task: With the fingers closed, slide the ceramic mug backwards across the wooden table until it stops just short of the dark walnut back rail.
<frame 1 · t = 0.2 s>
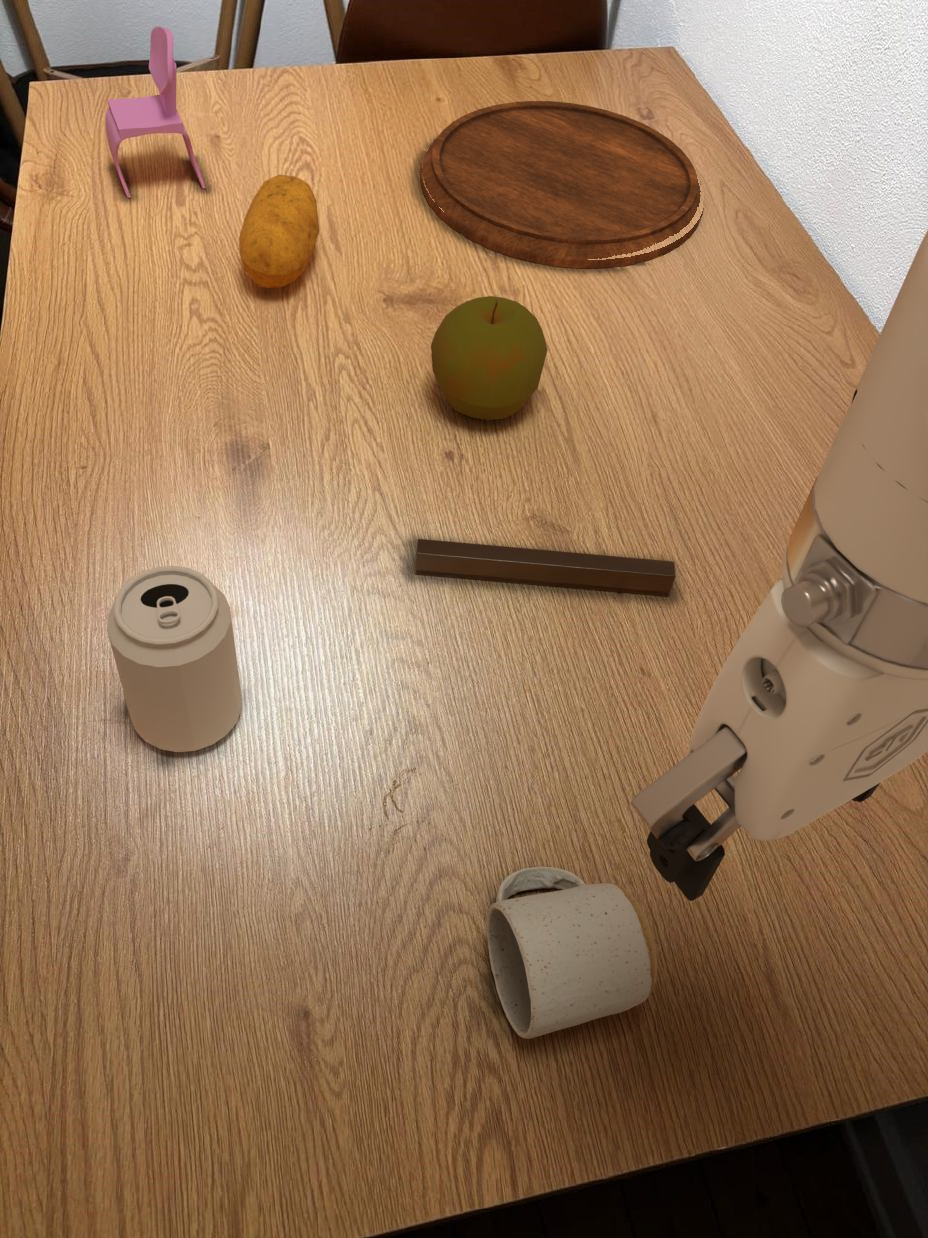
hand: (758, 821, 49), 22 cm above the table, tool pointing down, fingers open, 9 cm apart
toy chair: (159, 180, 119), on the table
potato: (282, 266, 111), on the table
ceramic mug: (548, 961, 67), on the table
apple: (483, 404, 100), on the table
cutting board: (561, 188, 125), on the table
can: (188, 714, 77), on the table
back rail: (542, 577, 87), on the table
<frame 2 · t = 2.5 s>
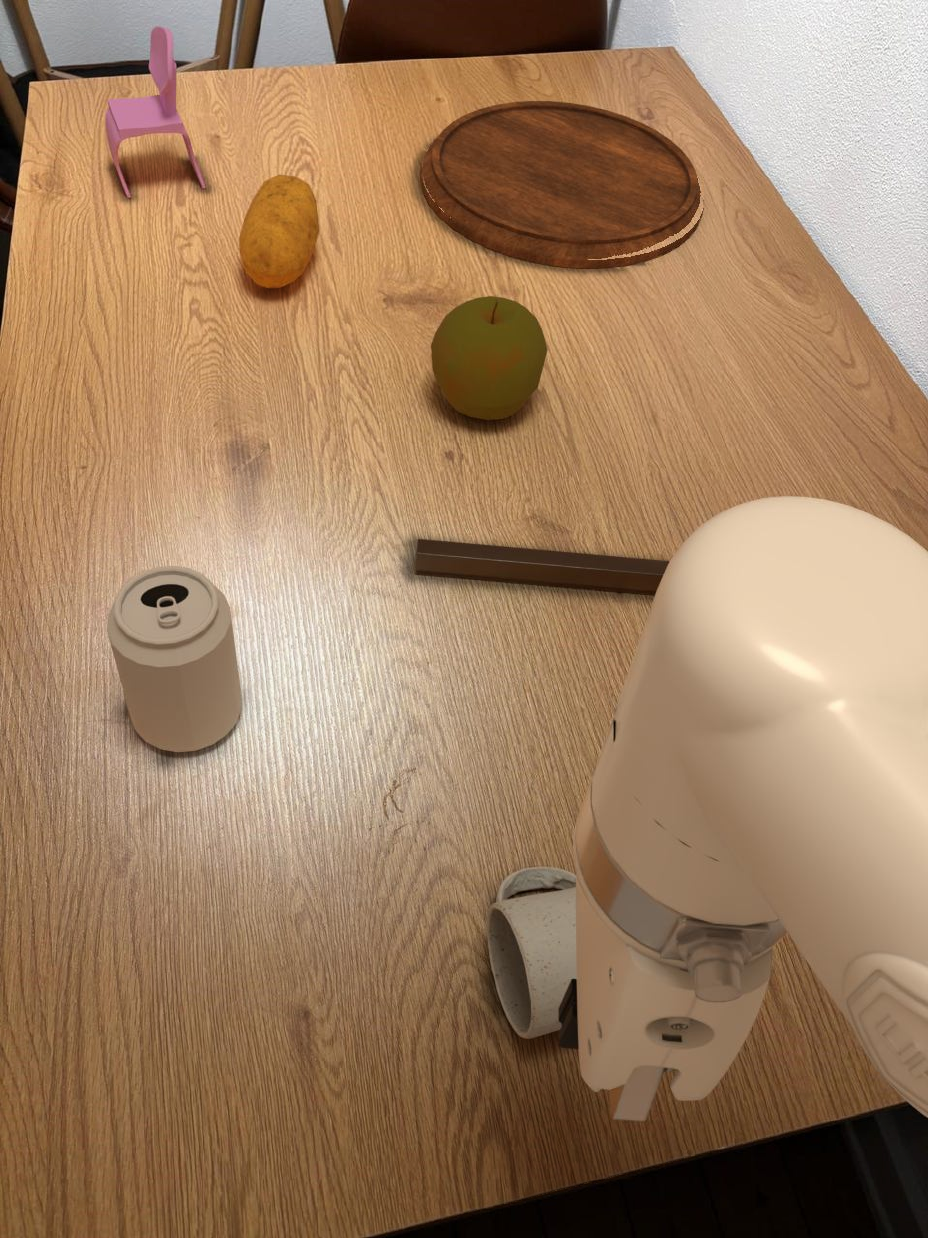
hand: (593, 1032, 49), 16 cm above the table, tool pointing down, fingers closed
nothing on the table moved.
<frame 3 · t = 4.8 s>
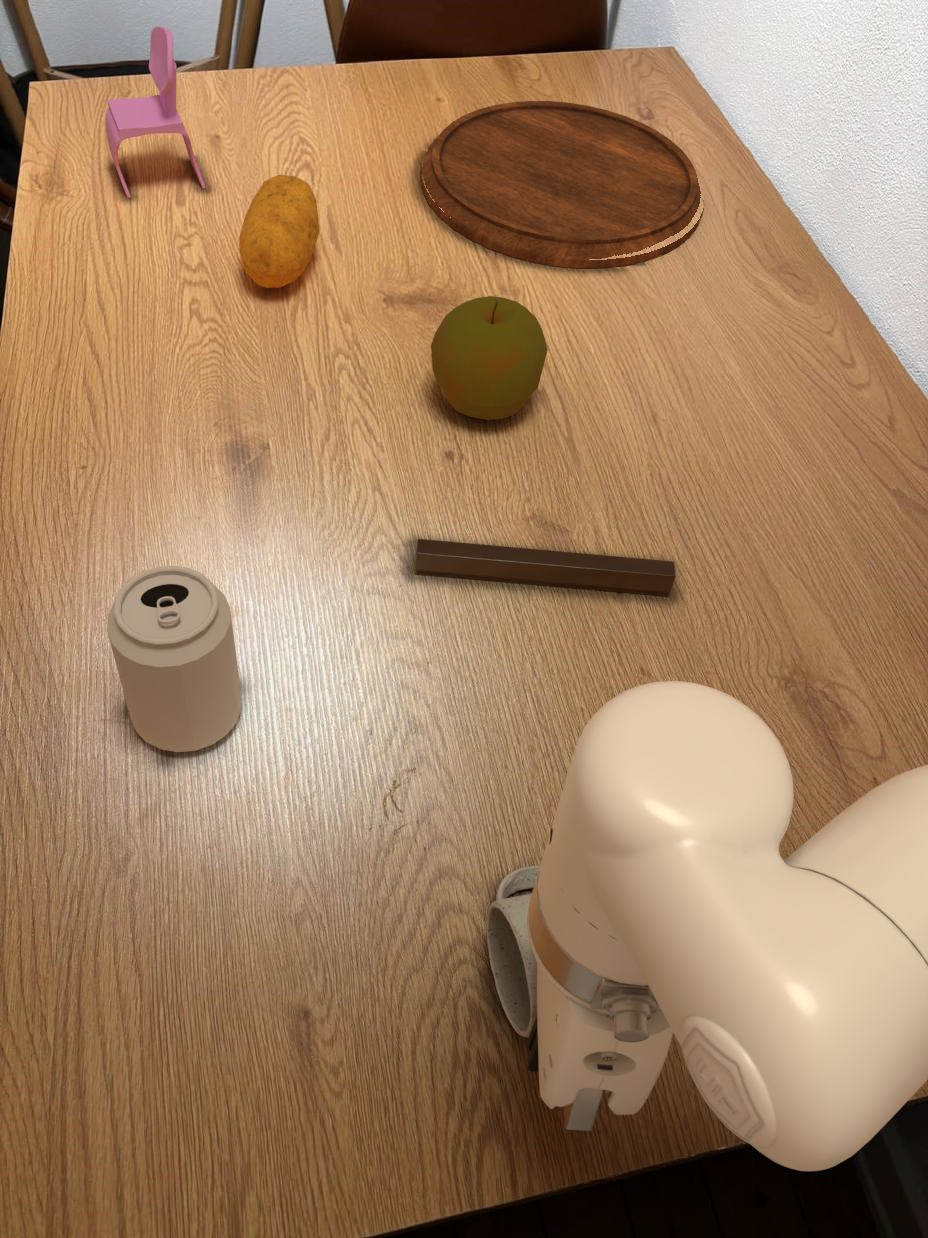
hand: (556, 1058, 60), 4 cm above the table, tool pointing down, fingers closed
ceramic mug: (548, 960, 68), on the table, touching gripper
everything else where it was.
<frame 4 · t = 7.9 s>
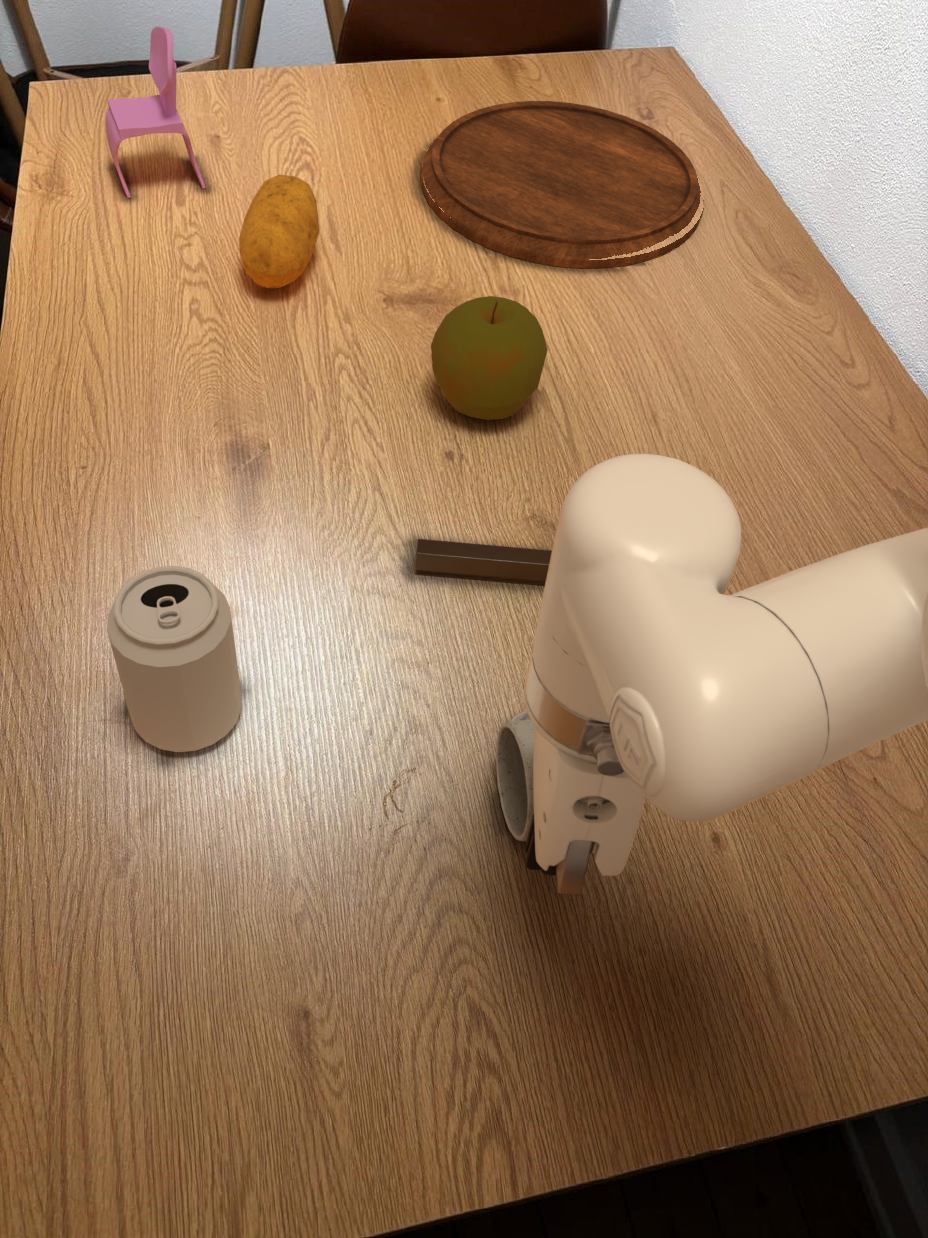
hand: (551, 859, 68), 4 cm above the table, tool pointing down, fingers closed
ceramic mug: (550, 788, 75), on the table, touching gripper
everything else where it was.
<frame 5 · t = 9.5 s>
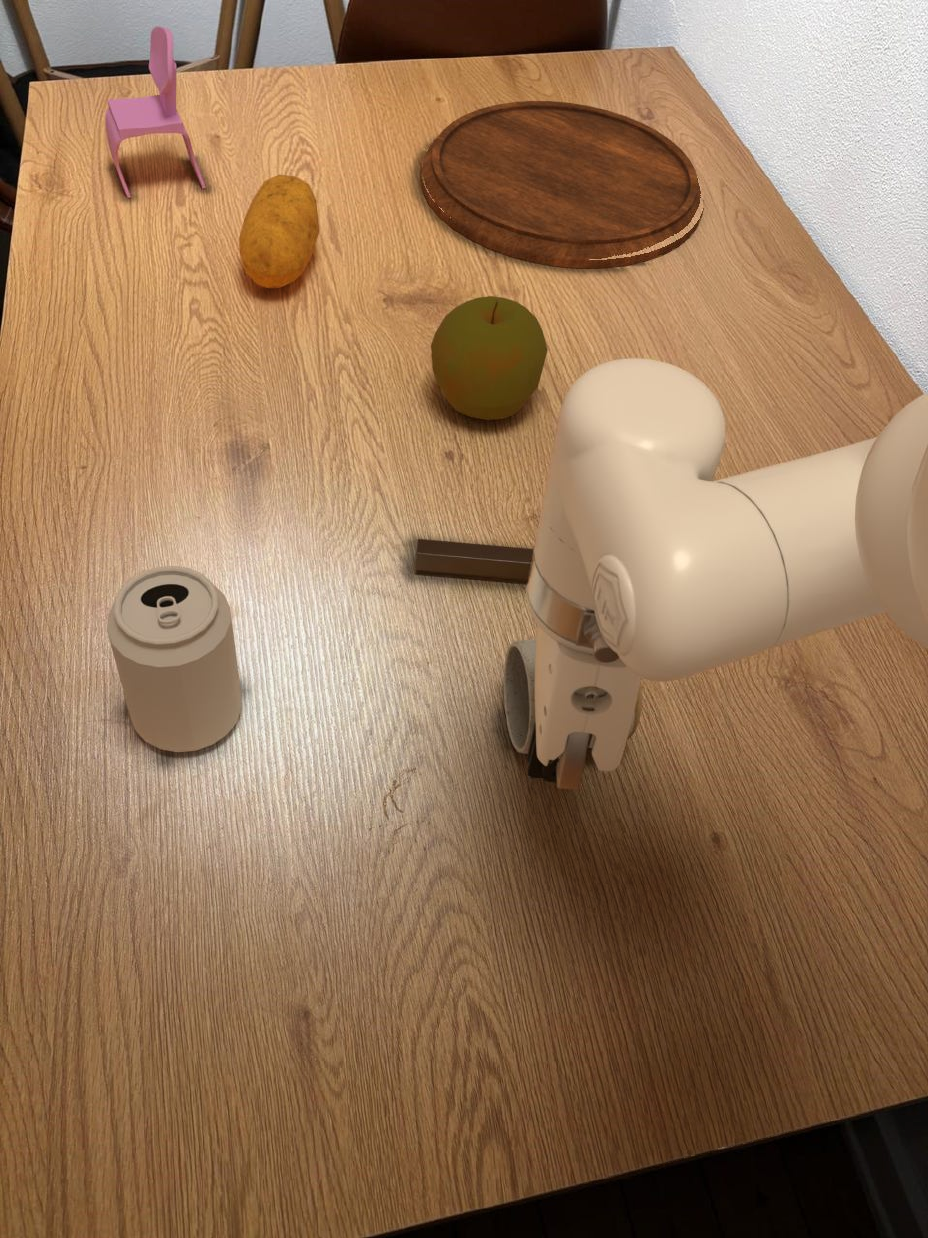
hand: (551, 768, 72), 4 cm above the table, tool pointing down, fingers closed
ceramic mug: (554, 711, 79), on the table, touching gripper
everything else where it was.
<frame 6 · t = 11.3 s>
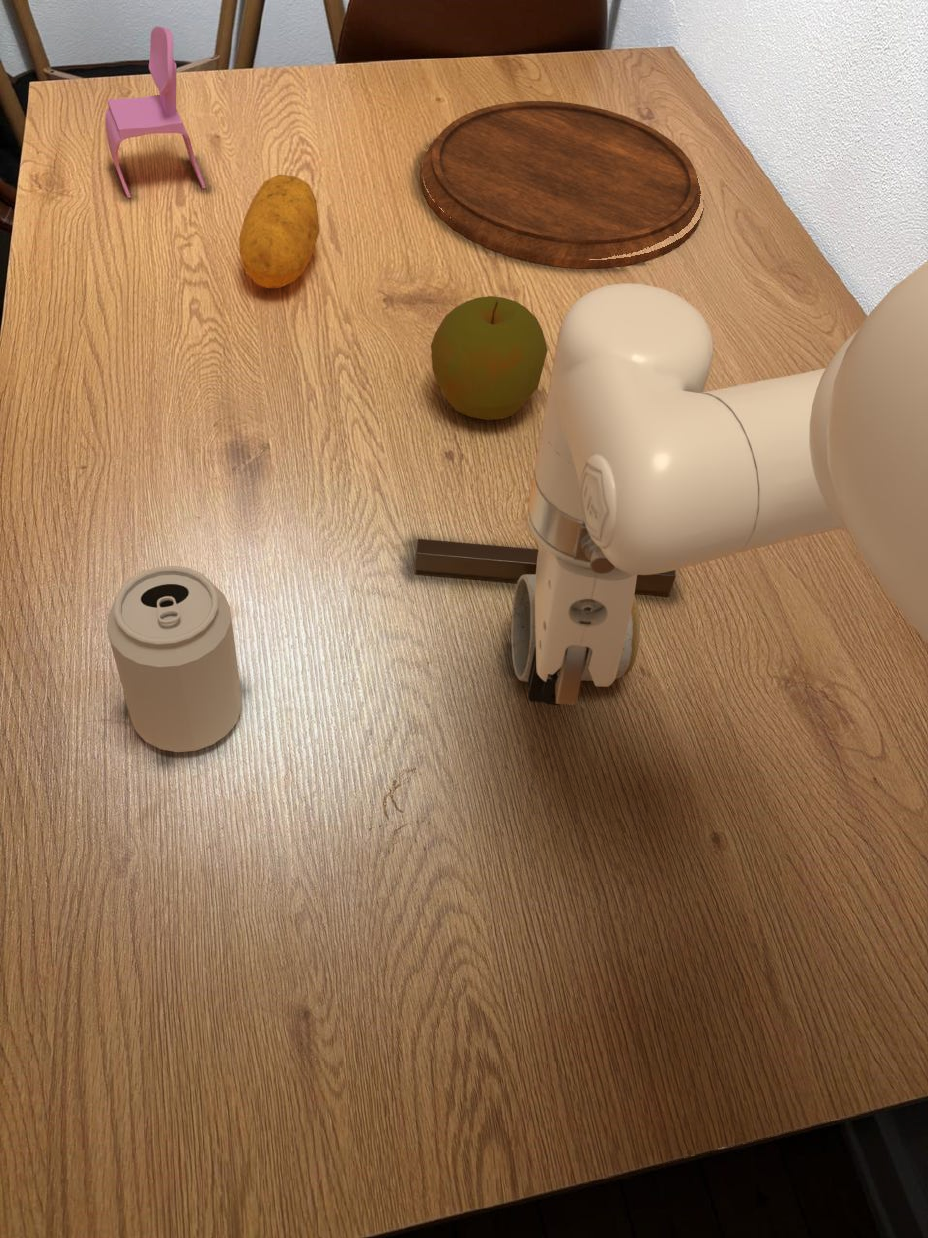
hand: (550, 693, 76), 4 cm above the table, tool pointing down, fingers closed
ceramic mug: (559, 647, 83), on the table, touching gripper
everything else where it was.
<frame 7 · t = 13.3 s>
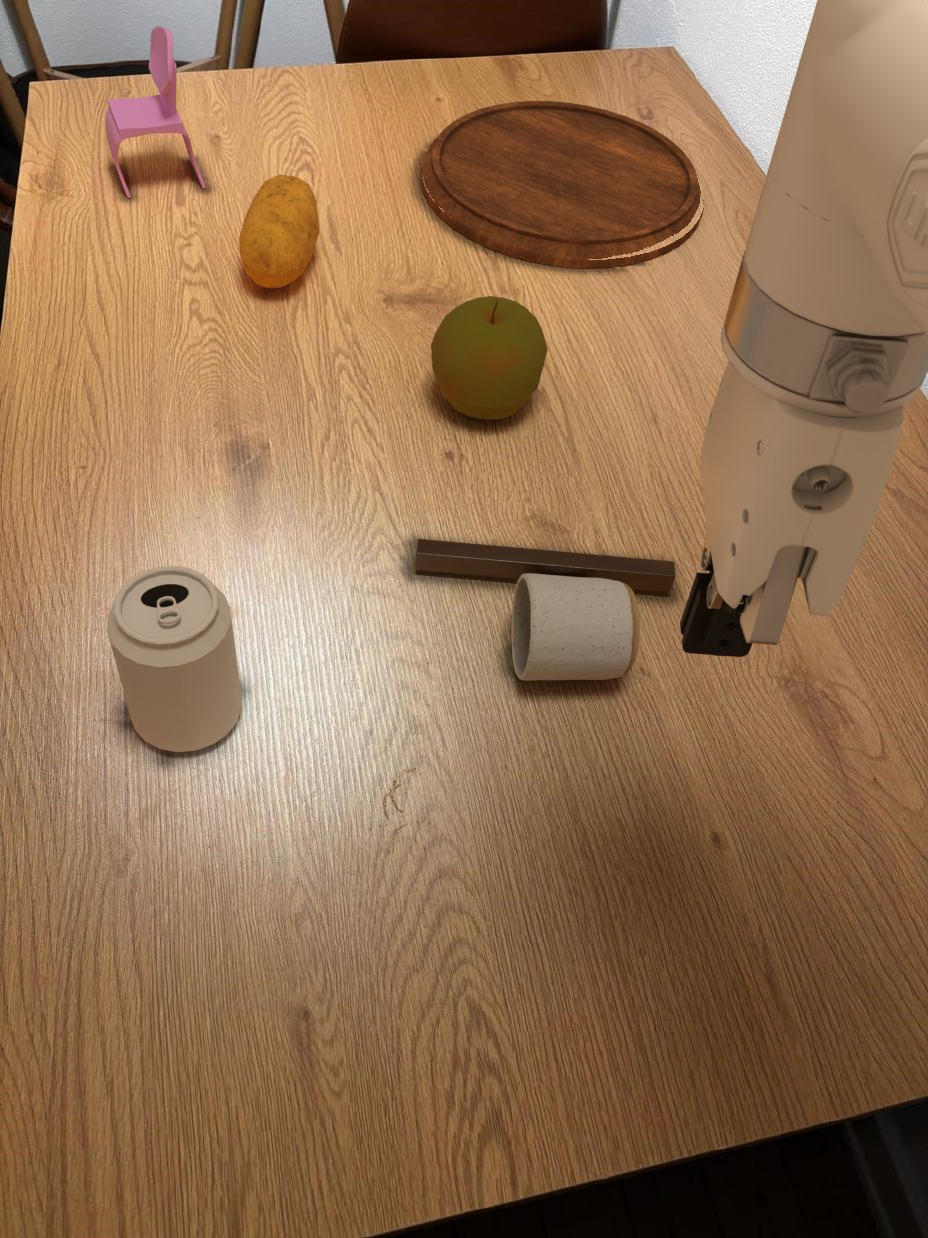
hand: (712, 642, 54), 23 cm above the table, tool pointing down, fingers closed
ceramic mug: (559, 646, 83), on the table
everything else where it was.
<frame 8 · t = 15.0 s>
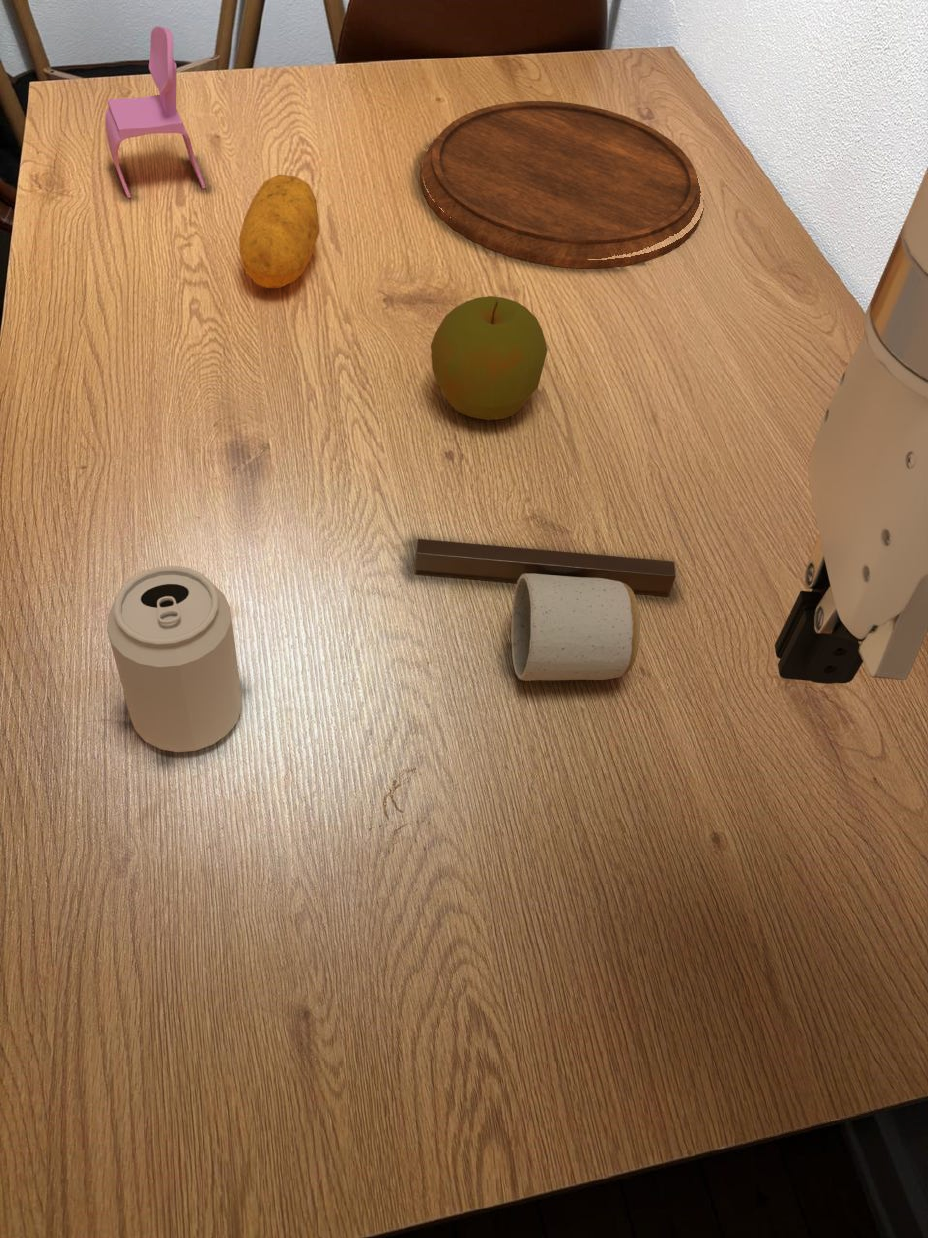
hand: (811, 666, 48), 27 cm above the table, tool pointing down, fingers closed
nothing on the table moved.
at the end: ceramic mug moved 24.5 cm from its start; ceramic mug 6.7 cm from the back rail (horizontally); ceramic mug tilted 0° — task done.
